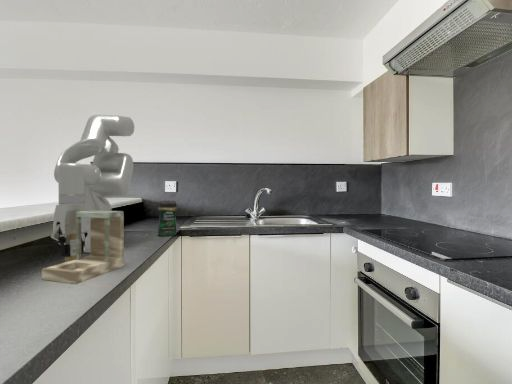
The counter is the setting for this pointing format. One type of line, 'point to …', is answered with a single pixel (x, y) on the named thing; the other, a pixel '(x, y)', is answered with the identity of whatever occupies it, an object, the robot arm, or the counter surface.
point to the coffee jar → (167, 218)
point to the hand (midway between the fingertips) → (72, 254)
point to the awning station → (93, 249)
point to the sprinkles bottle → (72, 248)
